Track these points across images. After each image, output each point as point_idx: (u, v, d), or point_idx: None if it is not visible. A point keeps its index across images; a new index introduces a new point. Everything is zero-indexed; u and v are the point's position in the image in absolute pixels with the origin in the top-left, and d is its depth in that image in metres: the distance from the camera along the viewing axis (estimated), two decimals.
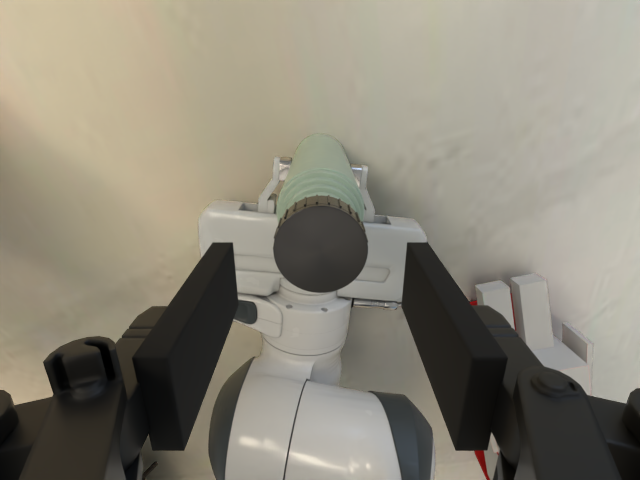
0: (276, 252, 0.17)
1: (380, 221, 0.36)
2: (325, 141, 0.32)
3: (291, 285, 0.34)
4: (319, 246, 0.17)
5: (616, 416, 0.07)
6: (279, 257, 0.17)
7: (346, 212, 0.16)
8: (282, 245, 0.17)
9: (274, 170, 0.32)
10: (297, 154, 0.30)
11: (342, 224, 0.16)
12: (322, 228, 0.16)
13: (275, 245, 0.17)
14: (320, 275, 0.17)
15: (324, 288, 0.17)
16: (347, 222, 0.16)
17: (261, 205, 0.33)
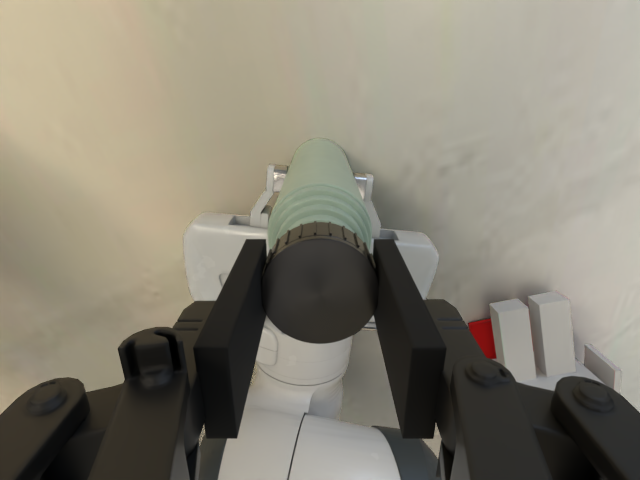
0: (264, 295, 0.13)
1: (386, 236, 0.32)
2: (325, 147, 0.28)
3: None
4: (318, 288, 0.13)
5: (545, 403, 0.08)
6: (267, 301, 0.13)
7: (352, 246, 0.13)
8: (271, 287, 0.13)
9: (268, 180, 0.28)
10: (294, 163, 0.27)
11: (347, 261, 0.13)
12: (322, 266, 0.13)
13: (262, 287, 0.13)
14: (319, 323, 0.14)
15: (324, 338, 0.14)
16: (354, 259, 0.13)
17: (253, 219, 0.29)
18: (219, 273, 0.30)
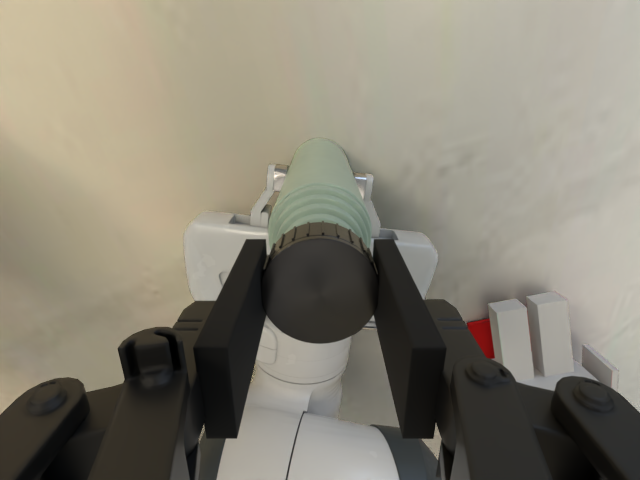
0: (349, 333, 0.14)
1: (386, 236, 0.32)
2: (325, 147, 0.29)
3: None
4: (314, 298, 0.13)
5: (545, 403, 0.08)
6: (353, 327, 0.14)
7: None
8: (337, 332, 0.14)
9: (268, 179, 0.28)
10: (294, 162, 0.27)
11: (274, 291, 0.13)
12: (292, 307, 0.13)
13: (342, 337, 0.14)
14: (349, 278, 0.13)
15: (363, 264, 0.13)
16: (269, 288, 0.13)
17: (254, 218, 0.29)
18: (219, 272, 0.30)
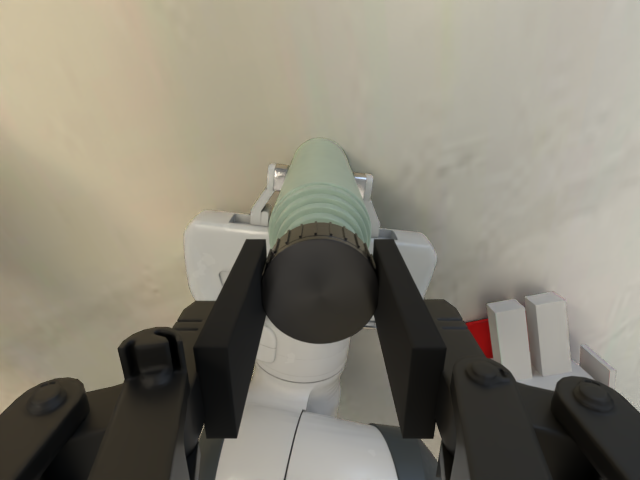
0: (344, 247, 0.13)
1: (385, 236, 0.32)
2: (326, 147, 0.29)
3: None
4: (326, 296, 0.13)
5: (545, 403, 0.08)
6: (335, 247, 0.13)
7: (350, 335, 0.14)
8: (349, 258, 0.13)
9: (268, 179, 0.29)
10: (294, 162, 0.27)
11: (340, 328, 0.14)
12: (346, 308, 0.13)
13: (353, 250, 0.13)
14: (289, 281, 0.13)
15: (269, 278, 0.13)
16: (339, 334, 0.14)
17: (254, 217, 0.29)
18: (219, 270, 0.30)
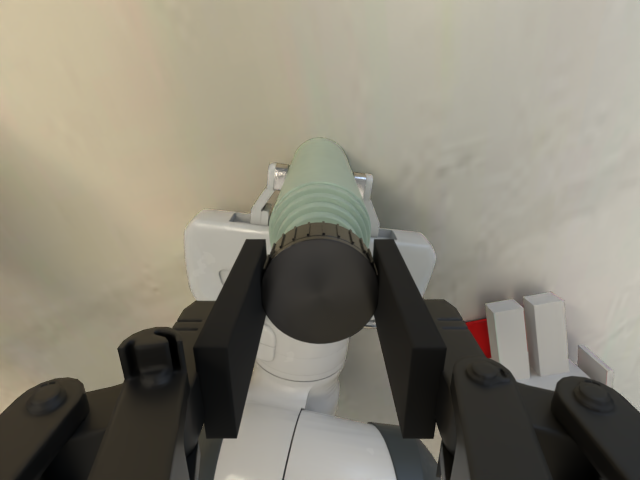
0: (264, 301, 0.13)
1: (384, 235, 0.33)
2: (326, 147, 0.29)
3: None
4: (317, 288, 0.13)
5: (545, 403, 0.08)
6: (269, 306, 0.13)
7: (346, 243, 0.13)
8: (271, 292, 0.13)
9: (269, 178, 0.29)
10: (295, 161, 0.27)
11: (343, 259, 0.13)
12: (318, 266, 0.13)
13: (262, 292, 0.13)
14: (323, 323, 0.14)
15: (330, 338, 0.14)
16: (349, 256, 0.13)
17: (254, 216, 0.30)
18: (219, 269, 0.30)
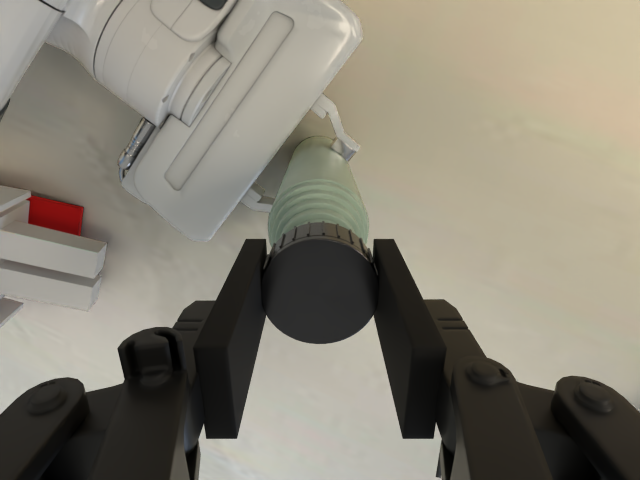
0: (264, 301, 0.13)
1: None
2: None
3: (216, 75, 0.25)
4: (317, 288, 0.13)
5: (545, 403, 0.08)
6: (269, 306, 0.13)
7: (346, 243, 0.13)
8: (271, 292, 0.13)
9: (350, 140, 0.28)
10: None
11: (343, 259, 0.13)
12: (318, 266, 0.13)
13: (262, 292, 0.13)
14: (323, 323, 0.14)
15: (330, 337, 0.14)
16: (349, 256, 0.13)
17: (326, 101, 0.27)
18: (295, 23, 0.24)
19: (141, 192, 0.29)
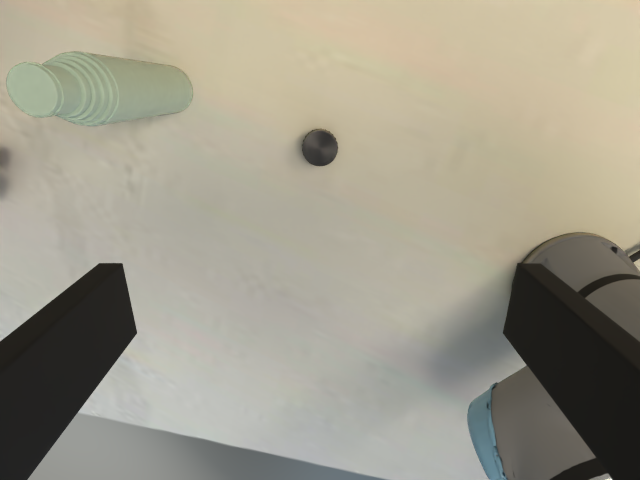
0: (303, 150, 0.45)
1: None
2: (170, 108, 0.39)
3: None
4: (319, 146, 0.45)
5: None
6: (305, 152, 0.45)
7: (327, 132, 0.44)
8: (305, 147, 0.45)
9: None
10: (164, 84, 0.36)
11: (326, 136, 0.45)
12: (319, 139, 0.45)
13: (303, 148, 0.45)
14: (321, 158, 0.45)
15: (323, 163, 0.46)
16: (328, 135, 0.44)
17: None
18: None
19: None
